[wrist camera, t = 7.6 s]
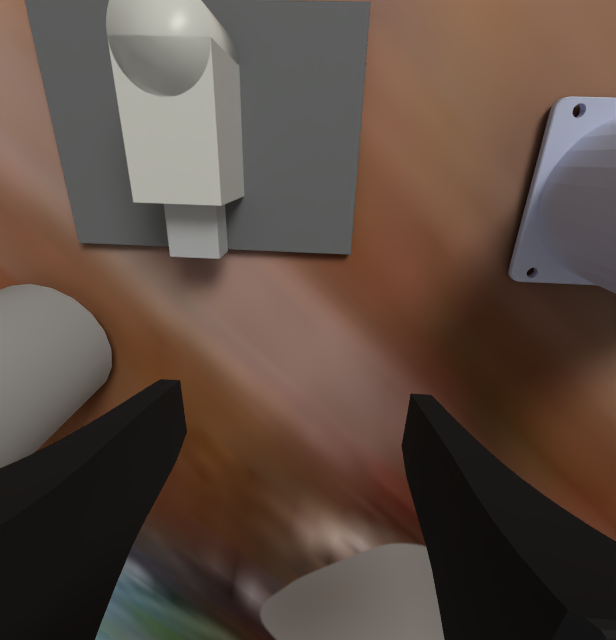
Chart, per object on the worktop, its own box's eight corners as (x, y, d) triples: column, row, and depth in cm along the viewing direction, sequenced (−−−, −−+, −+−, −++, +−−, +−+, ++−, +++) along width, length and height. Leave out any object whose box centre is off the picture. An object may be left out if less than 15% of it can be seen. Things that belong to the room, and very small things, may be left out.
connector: (154, 13, 15) (95, -34, 11) (237, 15, 15) (206, -33, 11) (180, 243, 19) (143, 263, 15) (246, 245, 18) (225, 267, 15)
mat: (369, 6, 15) (370, 1, 14) (350, 252, 19) (350, 254, 18) (33, 1, 15) (23, -4, 15) (84, 240, 19) (79, 242, 19)
